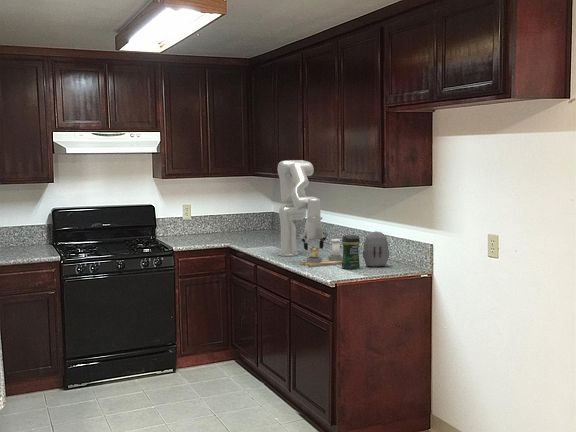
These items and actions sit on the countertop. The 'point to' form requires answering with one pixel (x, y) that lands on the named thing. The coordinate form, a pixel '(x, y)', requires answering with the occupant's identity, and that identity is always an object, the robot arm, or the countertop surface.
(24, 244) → the countertop surface
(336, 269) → the countertop surface
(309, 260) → the socket
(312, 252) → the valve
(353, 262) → the coffee jar
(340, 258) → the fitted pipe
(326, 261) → the board
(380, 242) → the grey rounded bag
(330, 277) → the countertop surface
